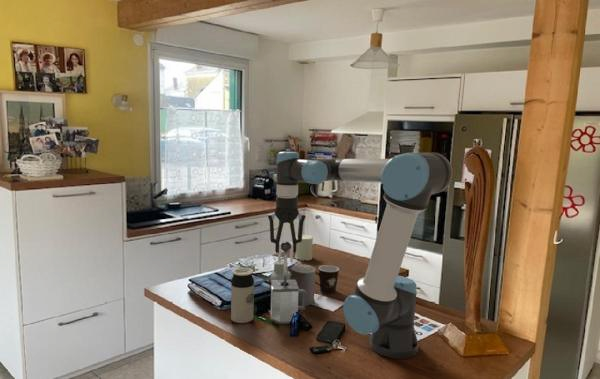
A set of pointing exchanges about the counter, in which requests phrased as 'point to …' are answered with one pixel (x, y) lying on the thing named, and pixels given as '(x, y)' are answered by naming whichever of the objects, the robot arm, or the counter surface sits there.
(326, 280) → the coffee mug
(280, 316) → the carafe
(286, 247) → the plunger
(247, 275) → the travel mug
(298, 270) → the grey cylinder
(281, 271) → the air freshener
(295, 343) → the counter surface
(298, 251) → the can
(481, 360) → the counter surface
